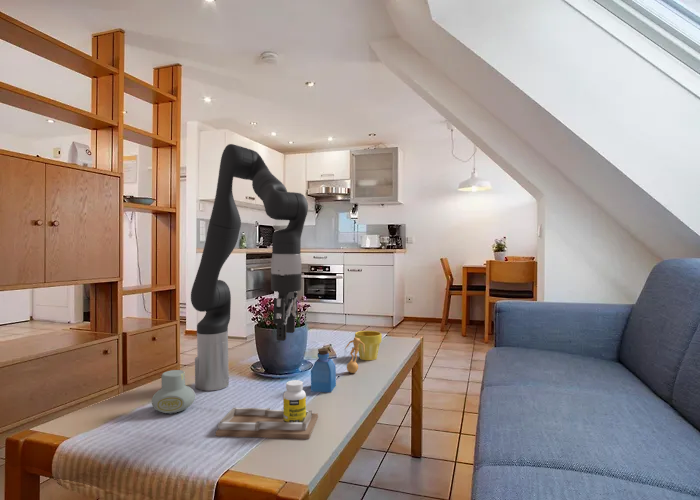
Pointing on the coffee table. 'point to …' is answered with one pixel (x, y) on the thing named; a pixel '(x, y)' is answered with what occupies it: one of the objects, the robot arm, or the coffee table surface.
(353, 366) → the figurine
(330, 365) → the perfume bottle
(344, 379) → the coffee table surface
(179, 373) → the air freshener
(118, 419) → the coffee table surface
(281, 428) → the brown rectangular tray
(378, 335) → the plant pot
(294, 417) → the supplement bottle
